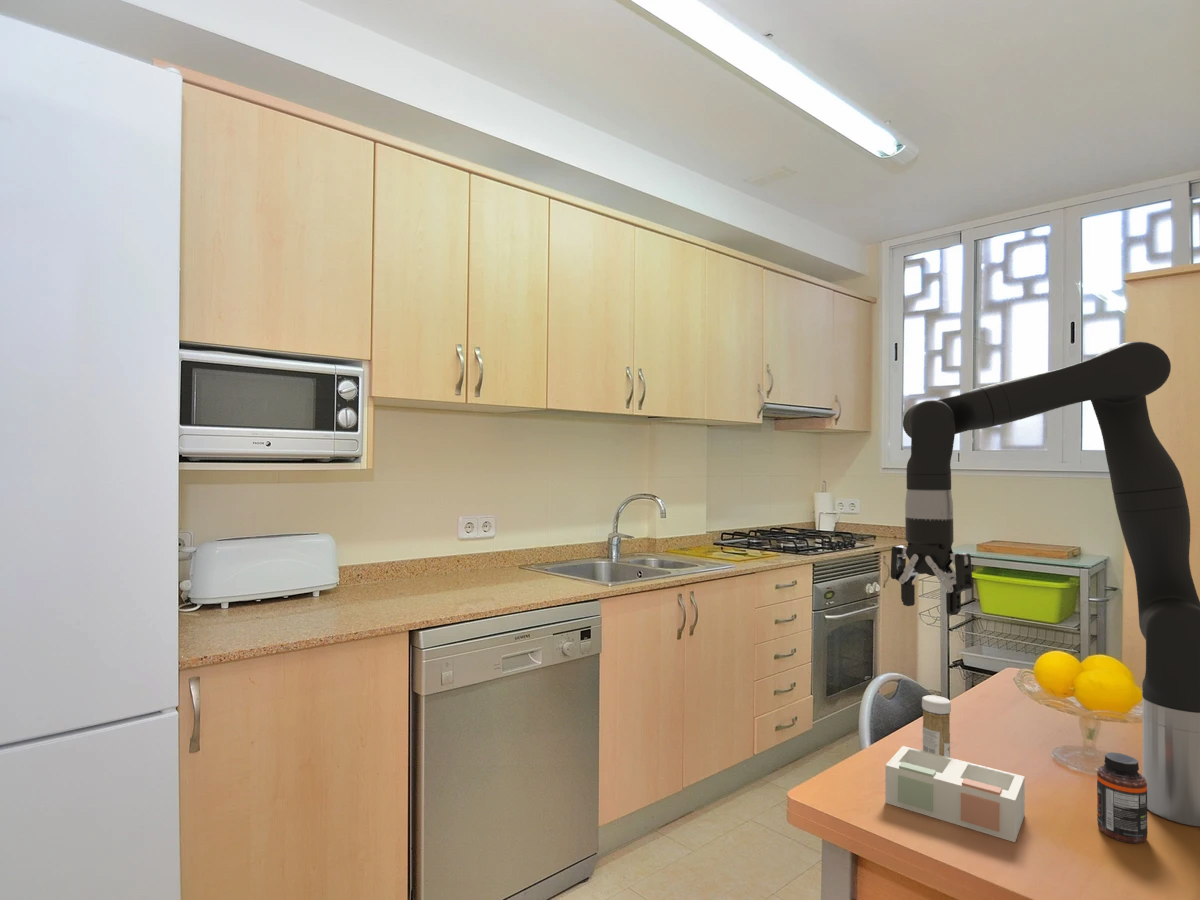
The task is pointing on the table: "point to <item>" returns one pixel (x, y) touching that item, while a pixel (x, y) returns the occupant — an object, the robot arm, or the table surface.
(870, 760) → the table surface
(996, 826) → the socket block
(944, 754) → the spice jar
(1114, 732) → the table surface
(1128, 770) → the supplement bottle
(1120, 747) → the table surface
